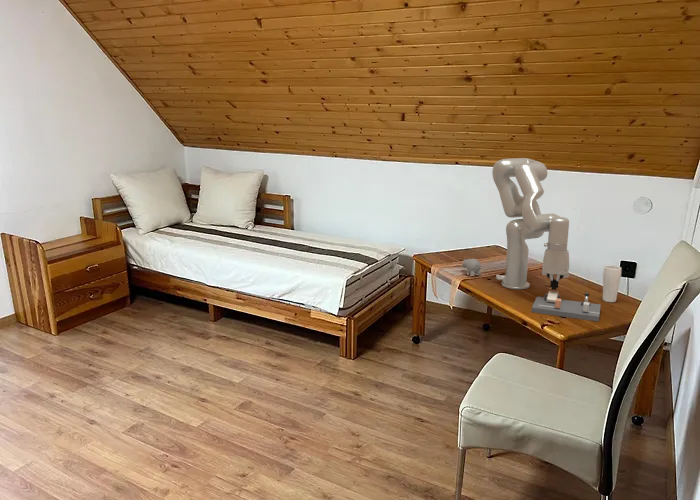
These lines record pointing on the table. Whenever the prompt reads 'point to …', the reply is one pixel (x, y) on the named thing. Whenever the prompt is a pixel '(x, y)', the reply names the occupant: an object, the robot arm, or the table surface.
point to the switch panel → (566, 309)
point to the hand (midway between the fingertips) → (554, 289)
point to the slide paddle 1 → (557, 303)
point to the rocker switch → (552, 296)
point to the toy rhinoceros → (472, 266)
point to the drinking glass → (611, 282)
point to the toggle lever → (586, 296)
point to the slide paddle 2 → (586, 307)
